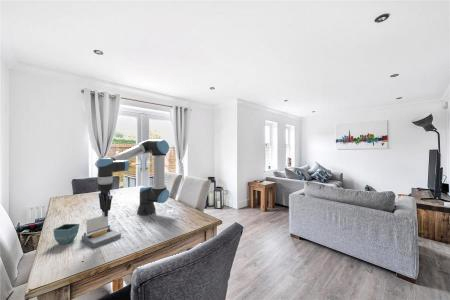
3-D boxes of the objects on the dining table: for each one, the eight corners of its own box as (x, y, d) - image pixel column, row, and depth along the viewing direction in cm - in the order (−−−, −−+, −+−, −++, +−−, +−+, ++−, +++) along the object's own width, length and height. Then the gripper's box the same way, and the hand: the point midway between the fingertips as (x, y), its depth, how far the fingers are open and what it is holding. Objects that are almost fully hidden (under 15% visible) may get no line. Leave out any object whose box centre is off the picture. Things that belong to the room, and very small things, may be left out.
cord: (90, 235, 113) (92, 233, 112) (104, 230, 120) (106, 228, 119) (91, 239, 112) (93, 237, 111) (105, 234, 119) (107, 233, 118)
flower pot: (64, 238, 113) (64, 223, 113) (79, 238, 114) (79, 223, 114) (52, 245, 105) (52, 229, 105) (68, 245, 105) (69, 229, 105)
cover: (87, 234, 111) (86, 233, 112) (108, 227, 121) (107, 227, 122) (87, 219, 112) (86, 219, 112) (108, 214, 122) (107, 214, 122)
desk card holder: (81, 239, 112) (81, 232, 112) (108, 231, 125) (108, 224, 125) (93, 247, 103) (94, 239, 103) (120, 237, 116) (121, 230, 116)
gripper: (93, 182, 113) (93, 220, 113) (103, 185, 106) (103, 226, 106) (106, 181, 119) (106, 217, 119) (117, 183, 112) (116, 221, 112)
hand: (105, 221), depth 113 cm, fingers closed
